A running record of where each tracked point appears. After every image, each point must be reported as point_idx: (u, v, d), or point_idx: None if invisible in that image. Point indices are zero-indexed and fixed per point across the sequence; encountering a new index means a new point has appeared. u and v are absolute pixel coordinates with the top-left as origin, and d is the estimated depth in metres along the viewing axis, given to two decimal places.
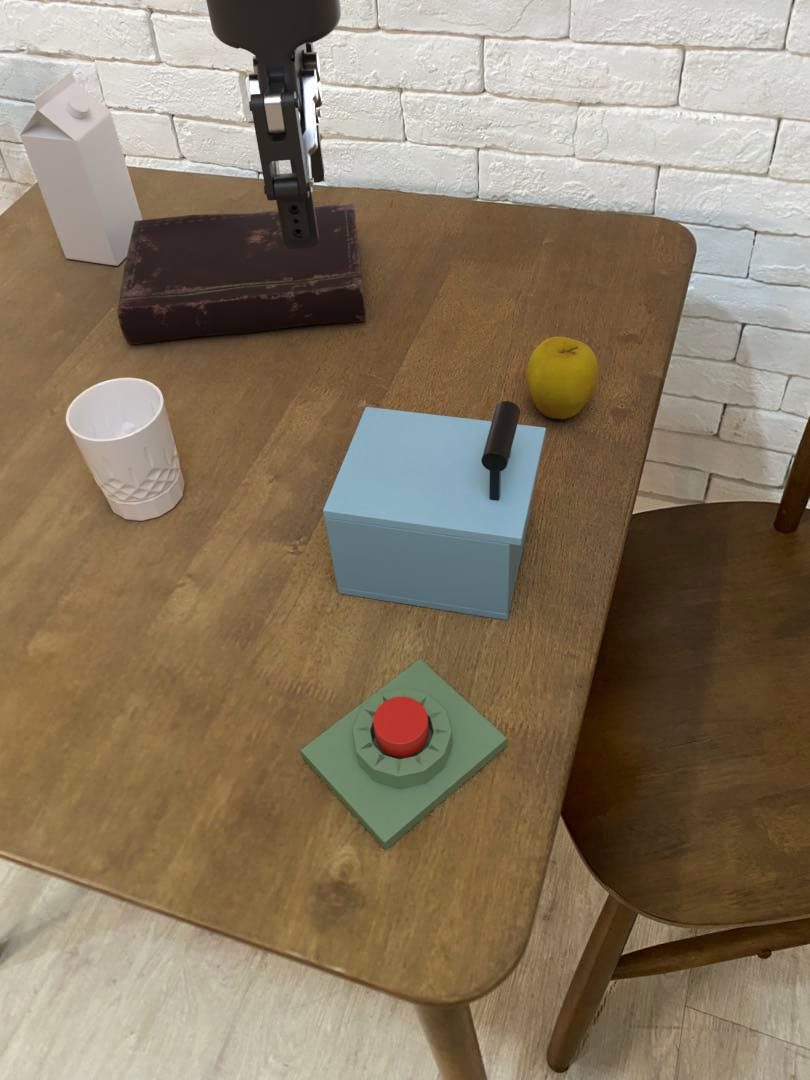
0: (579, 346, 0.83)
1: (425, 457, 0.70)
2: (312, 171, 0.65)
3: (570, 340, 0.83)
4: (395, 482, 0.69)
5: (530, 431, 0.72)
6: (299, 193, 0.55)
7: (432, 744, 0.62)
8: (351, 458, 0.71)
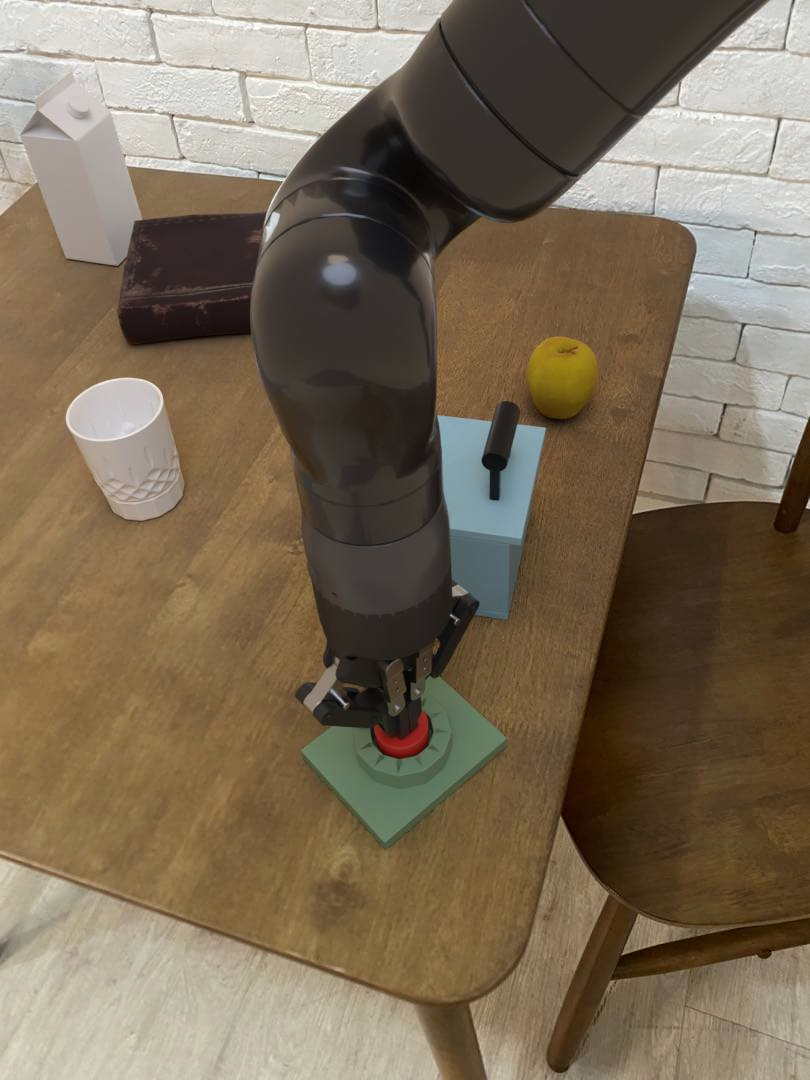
0: (579, 346, 0.83)
1: None
2: None
3: (570, 340, 0.83)
4: None
5: (530, 431, 0.72)
6: None
7: (432, 744, 0.62)
8: None
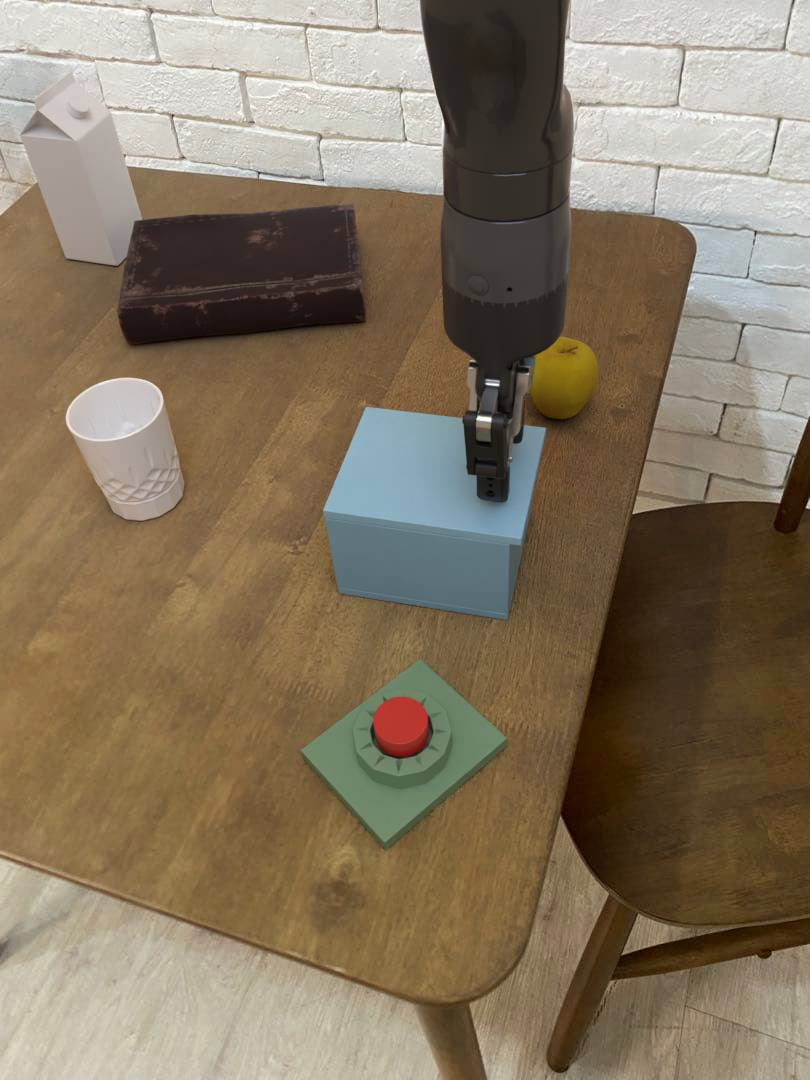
0: (579, 346, 0.83)
1: (425, 457, 0.70)
2: None
3: (570, 340, 0.83)
4: (395, 482, 0.69)
5: (530, 431, 0.72)
6: (497, 476, 0.60)
7: (432, 744, 0.62)
8: (351, 458, 0.71)
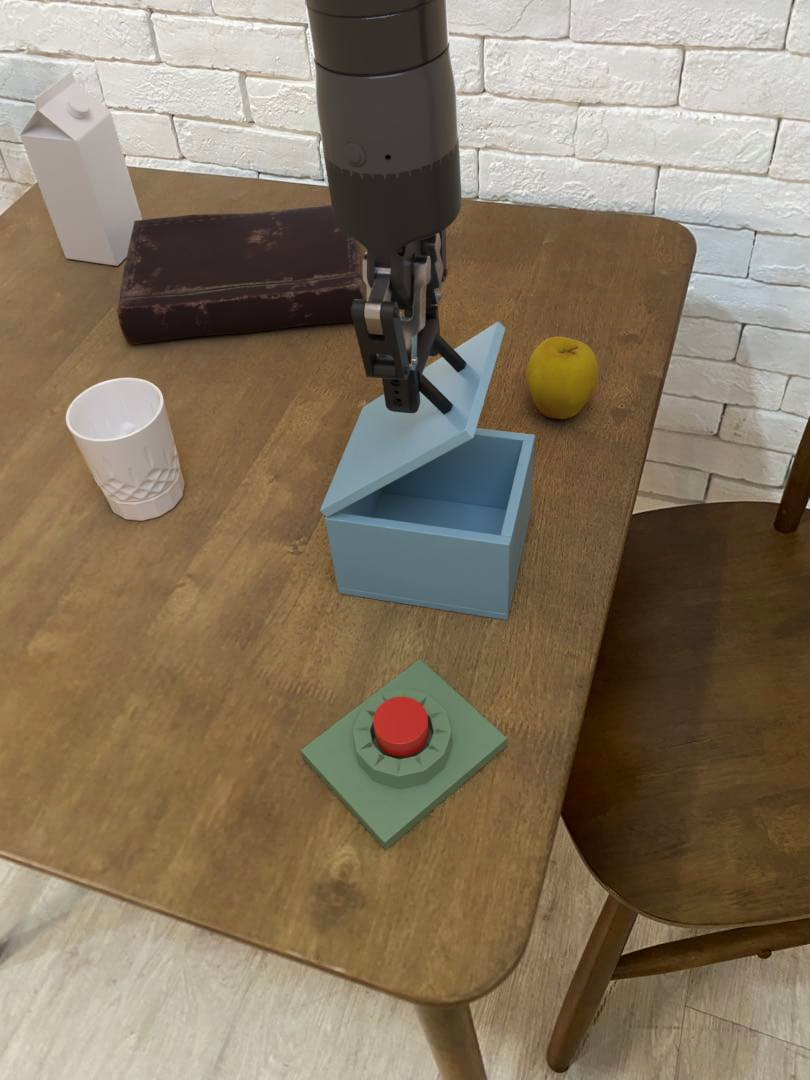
0: (579, 346, 0.83)
1: (399, 415, 0.68)
2: None
3: (570, 340, 0.83)
4: (374, 451, 0.67)
5: (485, 333, 0.66)
6: (396, 376, 0.56)
7: (432, 744, 0.62)
8: (346, 455, 0.71)
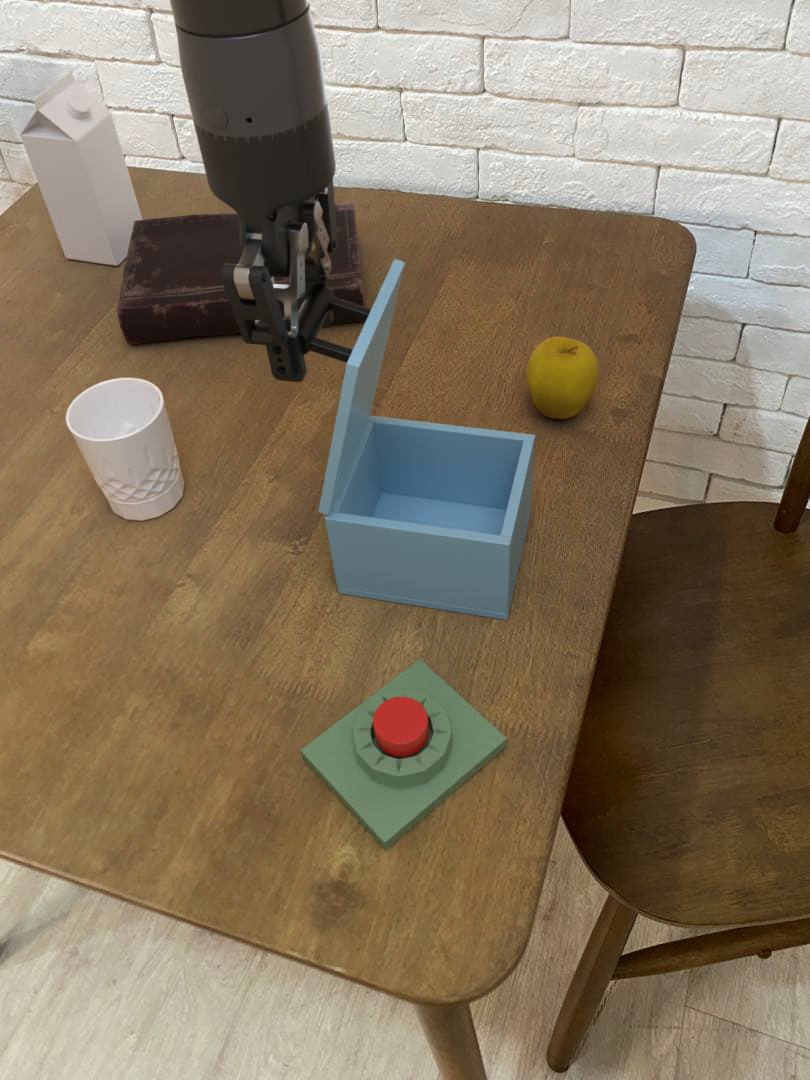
0: (579, 346, 0.83)
1: None
2: None
3: (570, 340, 0.83)
4: None
5: None
6: (273, 342, 0.57)
7: (432, 744, 0.62)
8: None
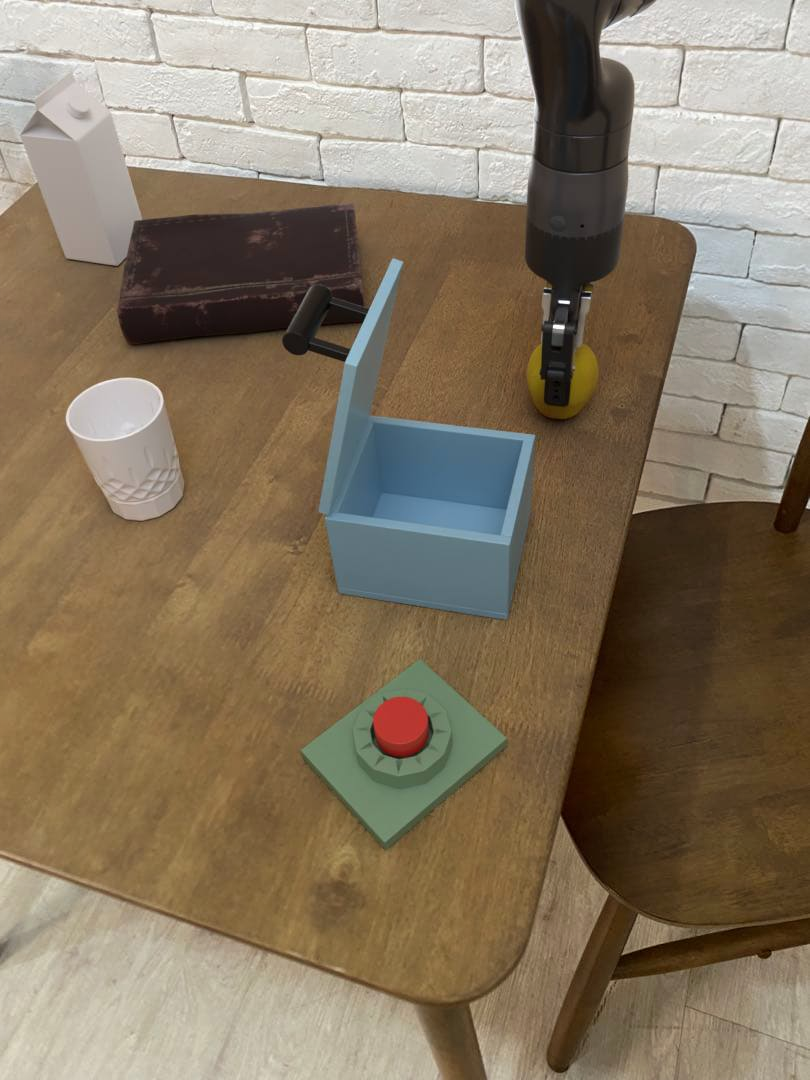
0: None
1: None
2: None
3: None
4: None
5: None
6: (564, 379, 0.77)
7: (432, 744, 0.62)
8: None
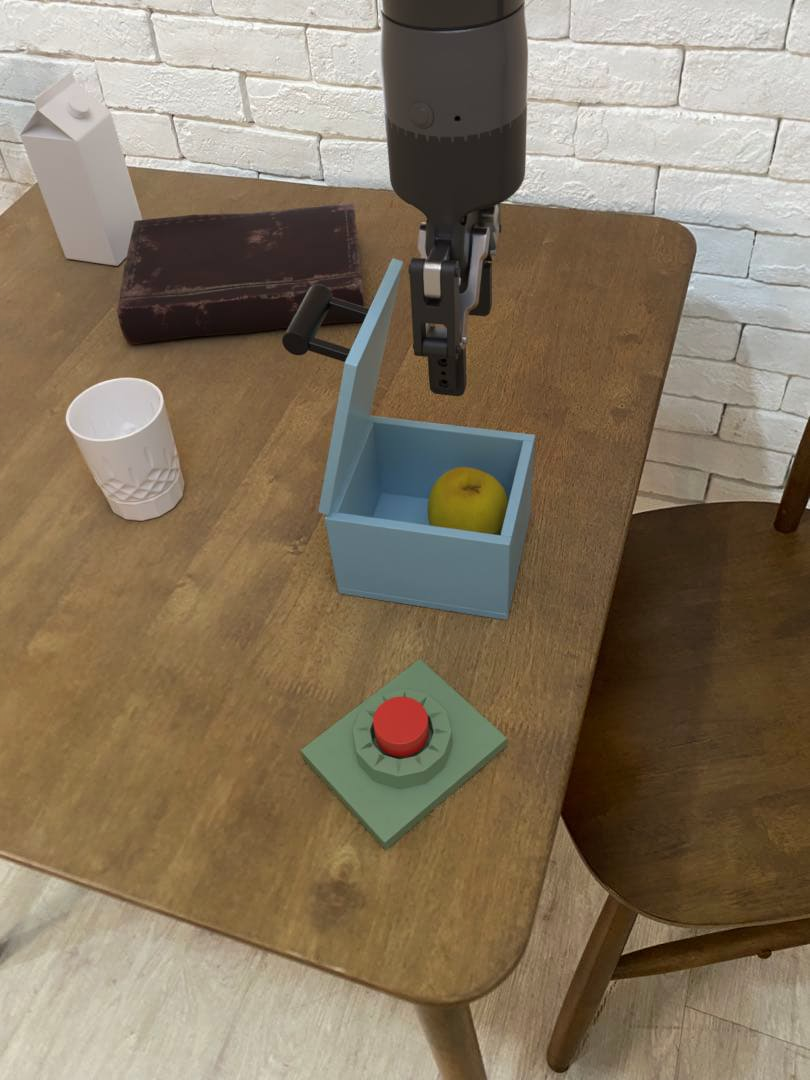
0: (485, 481, 0.71)
1: None
2: (478, 305, 0.63)
3: (476, 473, 0.72)
4: None
5: None
6: (447, 355, 0.53)
7: (432, 744, 0.62)
8: None
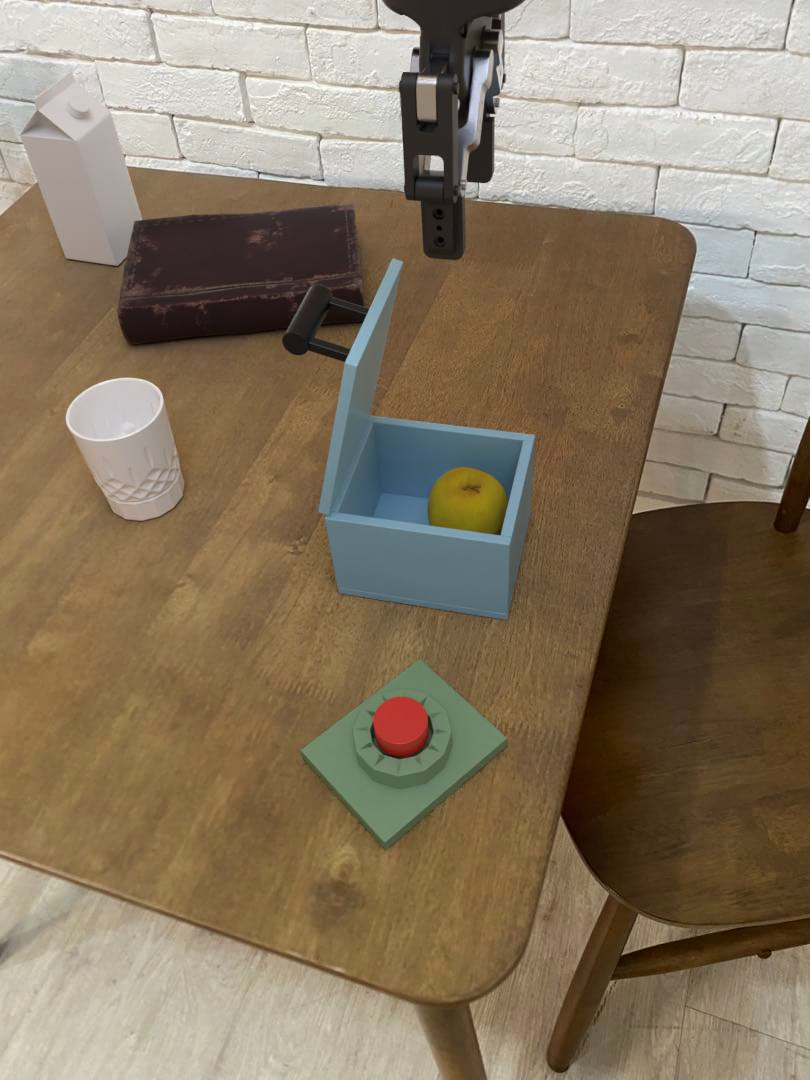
0: (485, 481, 0.71)
1: None
2: (479, 169, 0.56)
3: (476, 473, 0.72)
4: None
5: None
6: (443, 197, 0.45)
7: (432, 744, 0.62)
8: None
